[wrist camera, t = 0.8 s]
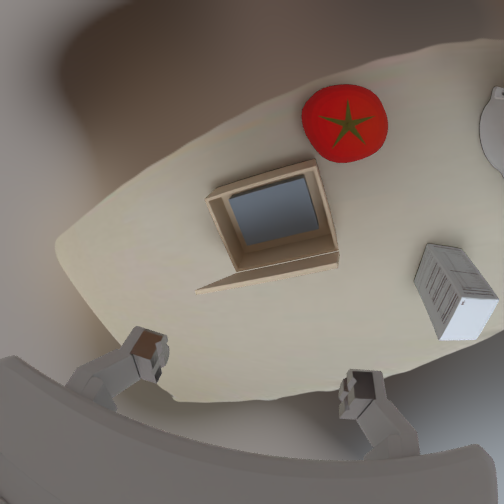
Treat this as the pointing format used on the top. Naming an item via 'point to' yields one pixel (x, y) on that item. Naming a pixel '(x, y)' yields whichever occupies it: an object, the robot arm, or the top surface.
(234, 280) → the lid
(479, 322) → the supplement box
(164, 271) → the top surface
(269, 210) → the box
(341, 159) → the tomato
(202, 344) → the top surface
